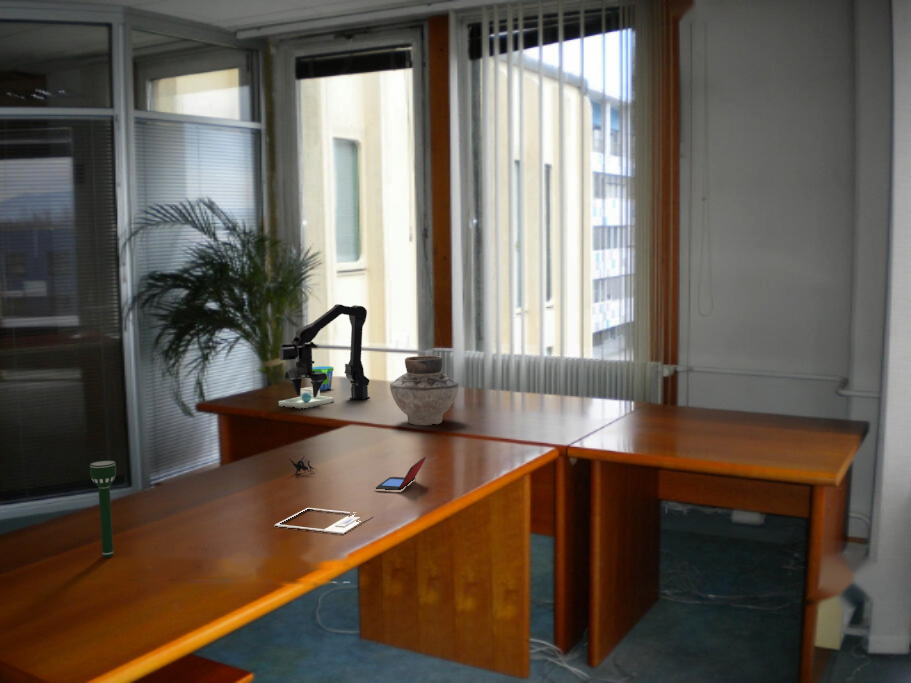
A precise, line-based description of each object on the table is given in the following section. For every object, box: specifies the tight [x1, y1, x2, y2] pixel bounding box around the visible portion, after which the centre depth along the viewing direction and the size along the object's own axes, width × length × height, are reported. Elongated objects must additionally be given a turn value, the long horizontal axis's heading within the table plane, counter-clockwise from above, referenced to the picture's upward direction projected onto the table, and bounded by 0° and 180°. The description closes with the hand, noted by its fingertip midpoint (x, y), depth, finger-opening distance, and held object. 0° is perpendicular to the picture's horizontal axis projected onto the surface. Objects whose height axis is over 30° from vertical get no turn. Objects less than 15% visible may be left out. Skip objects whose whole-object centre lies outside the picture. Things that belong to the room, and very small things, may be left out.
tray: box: [278, 395, 335, 410], centre depth 376 cm, size 14×18×2 cm
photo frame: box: [274, 507, 361, 535], centre depth 213 cm, size 15×1×18 cm
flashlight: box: [89, 459, 117, 559], centre depth 190 cm, size 5×5×20 cm
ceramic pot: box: [389, 355, 460, 426], centre depth 332 cm, size 25×25×24 cm
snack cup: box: [313, 365, 335, 391], centre depth 415 cm, size 16×10×10 cm
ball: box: [300, 393, 311, 402], centre depth 376 cm, size 4×4×4 cm
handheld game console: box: [375, 456, 426, 490], centre depth 243 cm, size 12×11×7 cm
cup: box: [300, 386, 321, 397], centre depth 392 cm, size 8×8×4 cm
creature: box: [288, 454, 317, 476], centre depth 258 cm, size 8×5×8 cm
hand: (306, 396), depth 376 cm, fingers open, 9 cm apart
